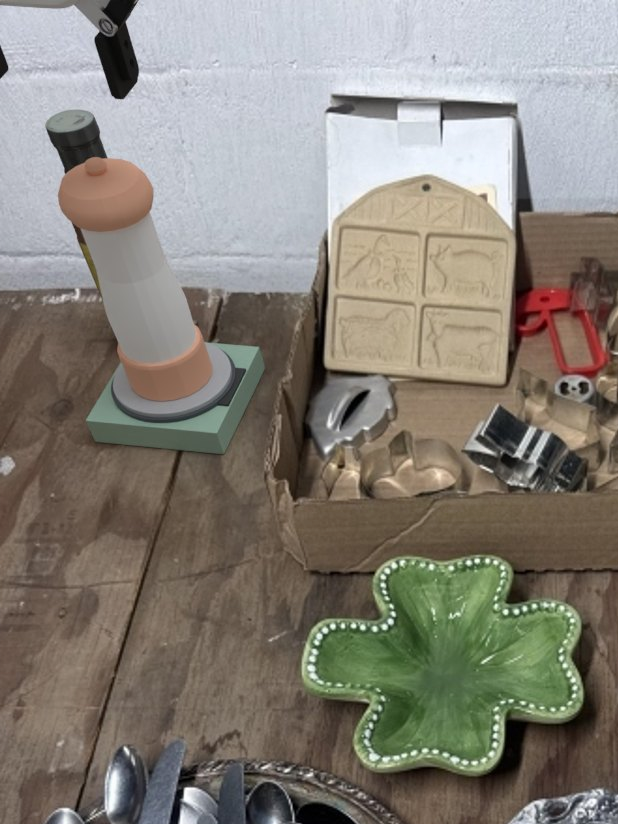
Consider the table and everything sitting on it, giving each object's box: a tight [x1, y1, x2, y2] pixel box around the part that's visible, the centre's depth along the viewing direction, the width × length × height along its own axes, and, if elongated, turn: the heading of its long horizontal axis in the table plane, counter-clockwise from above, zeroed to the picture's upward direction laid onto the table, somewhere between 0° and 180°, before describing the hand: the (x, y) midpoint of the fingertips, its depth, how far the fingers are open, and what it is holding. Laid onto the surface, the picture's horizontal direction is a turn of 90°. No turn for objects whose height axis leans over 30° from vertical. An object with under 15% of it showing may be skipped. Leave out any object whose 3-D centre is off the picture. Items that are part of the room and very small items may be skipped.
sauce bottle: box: [45, 109, 108, 302], centre depth 96 cm, size 7×6×20 cm
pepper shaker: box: [57, 157, 212, 401], centre depth 87 cm, size 7×7×19 cm
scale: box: [85, 341, 266, 455], centre depth 96 cm, size 12×12×3 cm
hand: (60, 85), depth 75 cm, fingers open, 9 cm apart
